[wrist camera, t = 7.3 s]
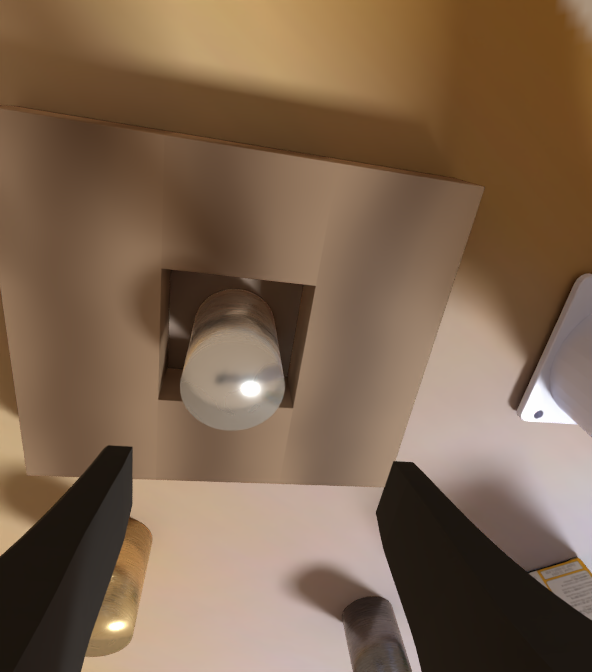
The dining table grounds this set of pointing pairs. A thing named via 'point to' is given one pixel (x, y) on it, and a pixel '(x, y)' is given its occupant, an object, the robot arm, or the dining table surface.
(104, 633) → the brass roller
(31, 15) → the dining table surface
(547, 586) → the crayon box
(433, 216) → the socket board
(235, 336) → the steel roller
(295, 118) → the dining table surface
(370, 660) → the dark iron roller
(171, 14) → the dining table surface
